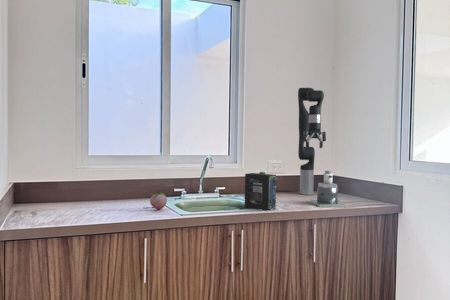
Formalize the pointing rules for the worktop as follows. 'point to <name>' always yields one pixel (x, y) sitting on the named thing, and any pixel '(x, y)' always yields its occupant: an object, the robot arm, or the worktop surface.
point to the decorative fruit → (158, 201)
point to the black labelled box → (260, 191)
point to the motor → (327, 196)
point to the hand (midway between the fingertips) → (314, 148)
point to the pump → (328, 177)
